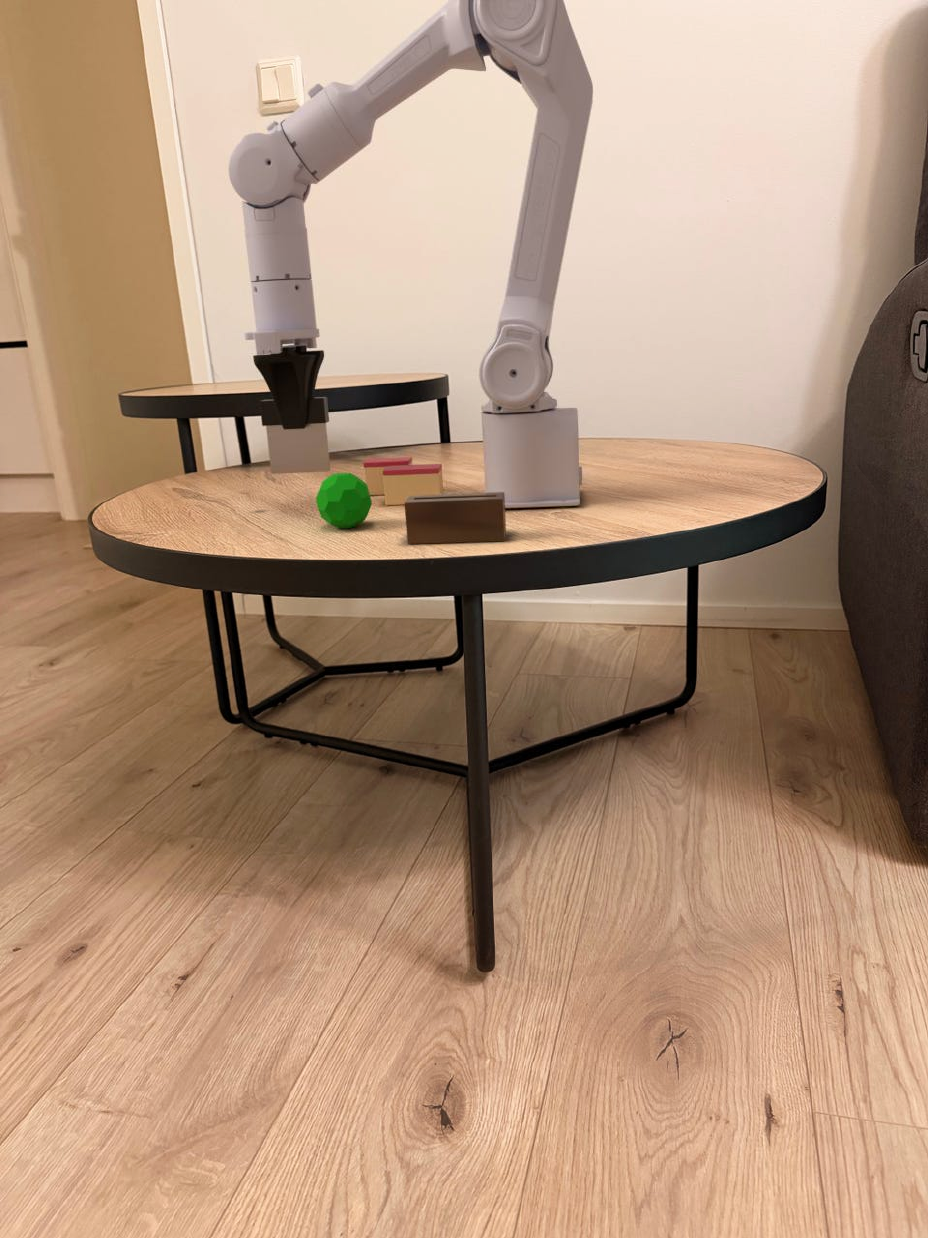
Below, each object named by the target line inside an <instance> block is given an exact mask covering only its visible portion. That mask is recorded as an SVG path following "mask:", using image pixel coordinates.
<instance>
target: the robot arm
mask: <svg viewBox="0 0 928 1238" xmlns="http://www.w3.org/2000/svg"><path fill="white" fill-rule="evenodd" d="M485 57H489V58H490V60H491V61H492V62H493V64H494V65H495V66H496V67H497V68H498V69H499V70H500V71H501V72H503V73H505V74H506V75H507V76H509V77H510V78H511V79H513V80H514V81H516V82H517V83H519V84H520V85H521V87H522V89H523V90H524V92H525V93H526V95H527V96H528V97H529V99H530V100H531V102H532V103H533V105H534V106H535V108H536V114H535V121H534V126H533V132H532V138H531V143H530V150H529V155H528V161H527V167H526V173H525V178H524V184H523V190H522V196H521V202H520V207H519V212H518V220H517V224H516V231H515V236H514V242H513V247H512V253H511V259H510V265H509V272H508V276H507V277H508V278H507V283H506V288H505V295H504V300H503V303H502V307H501V310H500V313H499V317H498V320H497V325H496V332H495V335H494V338H493V341H492V343H491V344H490V345H489V347H488V348H487V349H486V350H485V352H484V354H483V355H482V357H481V361H480V364H479V368H478V377H479V383H480V387H481V388H482V390H483V393H485V395H486V397H487V398H488V399H489V400H488V402H487V403H484V404H482V405H481V406H480V407H481V408H480V409H481V410H480V411H481V430H482V449H483V470H484V489H485V490H484V491H483V493H492V492H504V494H505V509H519V508H521V509H522V508H546V507H549V508H550V507H573V506H576V507H577V506H579V505H580V504H581V503H580V502H581V499H580V498H581V497H580V495H581V494H580V493H581V492H580V486H583V466H581V465H580V441H579V439H580V438H579V437H580V435H579V411H578V408H577V407H558V400H557V399H556V398H553V396H551V395H550V394H549V392H548V391H545V390H546V389H547V387H548V386H549V384H550V382H551V380H552V377H553V370H554V361H553V357H552V354H551V350H550V336H551V331H552V324H553V317H554V309H555V303H556V297H557V296H556V295H557V292H558V286H559V283H560V282H559V281H560V276H561V272H562V271H561V270H562V265H563V262H564V261H563V260H564V255H565V250H566V244H567V238H568V235H569V229H570V223H571V218H572V213H573V208H574V203H575V197H576V192H577V188H578V187H577V186H578V181H579V177H580V171H581V165H582V160H583V156H584V150H585V145H586V141H587V140H586V139H587V134H588V129H589V123H590V118H591V112H592V107H593V103H594V101H593V98H594V97H593V96H594V85H593V81H592V78H591V77H592V76H591V75H590V72H589V70H588V67H587V64H586V60H585V58H584V56H583V53H582V50H581V47H580V45H579V42H578V40H577V37H576V34H575V31H574V29H573V26H572V23H571V20H570V17H569V14H568V11H567V7H566V4H565V1H564V0H447V1H446V2H445V3H444V4H443V6H442V7H441V8H440V9H438V10H437V11H436V12H435V13H434V14H433V15H431V16H430V17H429V18H428V19H427V20H426V21H425V22H424V23H422V24H421V25H420V26H419V27H418V28H417V29H415V30H414V31H413V32H412V33H411V34H409V35H408V37H406V38H405V39H404V40H403V41H401V42H400V43H399V44H398V45H397V46H396V47H395V48H394V49H393V50H391V51H390V52H389V53H388V54H386V56H384V57H383V58H382V59H381V60H379V62H378V63H376V64H375V65H374V66H373V67H372V68H371V69H369V70H368V71H367V72H366V73H365V74H364V75H363V76H361V77H360V78H359V79H358V80H357V81H355V83H353V84H346V83H341V82H337V81H331V82H330V83H329V84H327V85H326V86H323V85H321V84H320V83H316V84H314V85H313V86H312V87H310V88H309V89H308V90H307V95H308V96H309V98H310V99H308V100H307V101H305V102H304V103H303V104H301V106H299V107H298V108H297V109H295V110H294V111H293V112H291V114H289V115H288V116H287V117H285V118H284V119H283V120H282V121H280V122H277V121H276V120H273V121H271V122H270V123H268V125H267V126H266V131H267V132H268V133H263V132H252V133H248V134H245V135H244V136H243V137H242V138H241V140H240V142H239V143H238V144H237V145H236V146H235V147H234V148H233V150H232V152H231V154H230V157H229V162H228V176H229V181H230V183H231V186H232V188H233V189H234V191H235V193H236V194H237V195H238V196H239V197H240V198H241V199H242V201H241V205H242V207H241V208H242V215H243V216H242V217H243V224H244V237H245V243H246V244H245V245H246V254H247V261H248V271H249V279H250V280H249V281H250V286H251V295H252V304H253V312H254V313H253V314H254V320H255V321H254V323H255V330H256V331H252V332H251V331H250V332H244V339H245V341H252V340H254V344H255V351H256V353H255V355H252V358H253V363H254V366H255V367H256V369H257V370H258V371H259V373H260V374H261V376H262V378H263V380H264V382H265V383H266V386H267V388H268V390H269V392H270V395H271V398H272V400H273V401H274V403H275V406H276V410H277V413H278V416H279V419H280V421H281V424H282V427H283V429H284V430H286V429H304V428H305V427H306V420H307V398H315V393H316V386H317V380H318V376H319V372H320V369H321V367H322V364H323V362H324V358H325V350H323V349H319V350H308V349H317V348H318V343H317V338H320V336H321V335H320V328H317V327H318V326H317V317H316V308H315V307H316V306H315V296H314V285H313V280H312V279H313V277H312V269H311V268H312V267H311V258H310V248H309V247H310V246H309V238H308V228H307V224H306V215H305V214H306V213H305V206H304V205H305V203H306V201H307V199H308V197H309V195H310V193H311V188H312V185H317V184H318V183H320V182H321V181H322V180H324V179H325V178H326V177H328V176H329V175H331V174H332V173H333V172H334V171H336V170H337V169H338V168H340V167H341V166H342V165H344V164H346V162H348V161H349V160H350V159H352V158H353V157H354V156H356V155H357V154H358V153H360V152H361V151H362V150H364V149H365V148H366V147H367V146H369V145H370V144H371V142H372V141H373V140H372V139H373V133H374V129H375V125H376V122H377V120H378V119H380V118H381V117H383V116H384V115H385V114H387V113H388V112H391V111H392V110H393V109H394V108H395V107H397V106H398V105H400V104H401V103H403V102H405V101H406V100H408V99H409V98H410V97H412V96H413V95H415V94H416V93H418V92H419V91H421V90H422V89H424V88H425V87H426V86H428V85H429V84H431V83H433V82H434V81H435V80H436V79H438V78H440V77H441V76H442V75H444V74H445V73H447V72H448V71H450V70H465V71H474V72H486V71H487V66H486V63H485V59H484V58H485Z"/></svg>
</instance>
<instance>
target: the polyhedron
mask: <svg viewBox="0 0 928 1238" xmlns="http://www.w3.org/2000/svg"><path fill="white" fill-rule="evenodd" d="M315 501H316V507H317V510H318V513H319V516H320V518H321V520H323V521H325V523H327V524H329V525H331V526H332V527H334V528H336V529H351V528H356V527H357V526H358V525H360V524H361V523H362V522H364V521H365V520H366V519H367V517H368V515H369V512H370V510H371V507H372V505H373V502H372V497H371V495H370V493H369V490H368V487H367V484H366V483H365V480H362V479H361V478H360V477H359V476H357V475H355V474H353V473H351V472H337V473H334V474H330V475H329V476H328V477H327V478H325V479H324V480H322V482H321V484H320V487H319V489H318V492H317V494H316V497H315Z"/></svg>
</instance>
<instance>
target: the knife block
mask: <svg viewBox="0 0 928 1238" xmlns="http://www.w3.org/2000/svg"><path fill="white" fill-rule="evenodd" d="M404 514H405V515H404V516H405V526H406V527H405V528H406V541H407V542H406V543H407V545H424V544H452V543H453V544H454V543H456V544H457V543H483V542H484V543H485V542H505V541H506V536H507V535H506V534H507V521H506V519H507V517H506V508H505V494H504V492H492V493H484V492H472V493H471V492H469V493H446V494H445V493H444V494H441V495H415V496H409V498H408V499H407V500H406V501H405V505H404Z"/></svg>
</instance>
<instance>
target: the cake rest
mask: <svg viewBox="0 0 928 1238" xmlns="http://www.w3.org/2000/svg"><path fill="white" fill-rule="evenodd" d="M383 475H384V476H383V481H384V493H385V495H384V503H385V504H384V505H385V506H400V505H401V506H402V505H403V506H405V501H406V500H407V499H408V498H409V496H415V495H441V494H445V493H444V479H443V478H444V477H443V465H442V463H429V464H427V463H426V464H425V463H424V464H412V465H399V466H387V467H386V468H385V469H384V470H383Z"/></svg>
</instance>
